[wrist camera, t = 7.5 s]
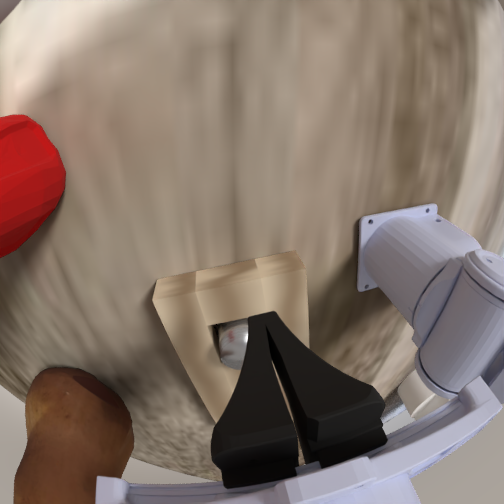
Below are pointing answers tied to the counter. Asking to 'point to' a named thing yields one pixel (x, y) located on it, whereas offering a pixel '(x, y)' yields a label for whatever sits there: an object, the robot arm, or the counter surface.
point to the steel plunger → (233, 342)
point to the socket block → (228, 315)
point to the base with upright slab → (418, 396)
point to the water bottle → (26, 180)
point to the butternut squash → (71, 438)
